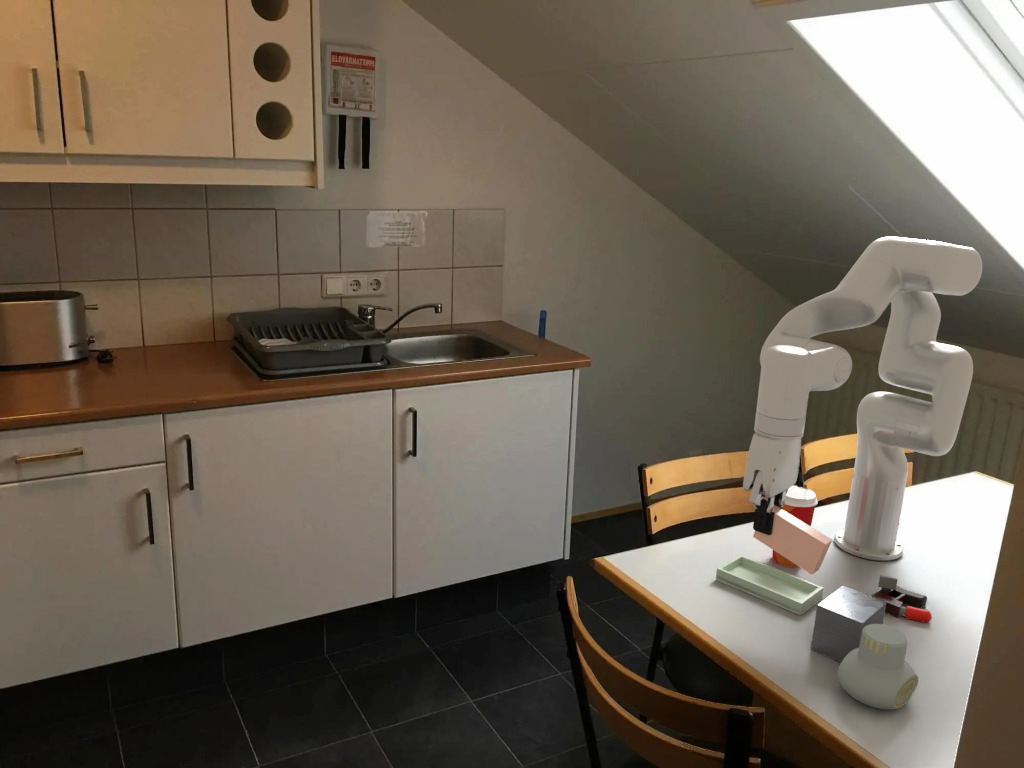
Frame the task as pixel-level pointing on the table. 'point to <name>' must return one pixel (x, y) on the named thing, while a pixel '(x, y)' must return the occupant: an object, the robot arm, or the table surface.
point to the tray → (770, 584)
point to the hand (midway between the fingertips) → (766, 529)
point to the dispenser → (844, 622)
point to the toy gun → (901, 600)
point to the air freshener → (879, 669)
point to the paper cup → (797, 513)
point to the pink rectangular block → (796, 541)
